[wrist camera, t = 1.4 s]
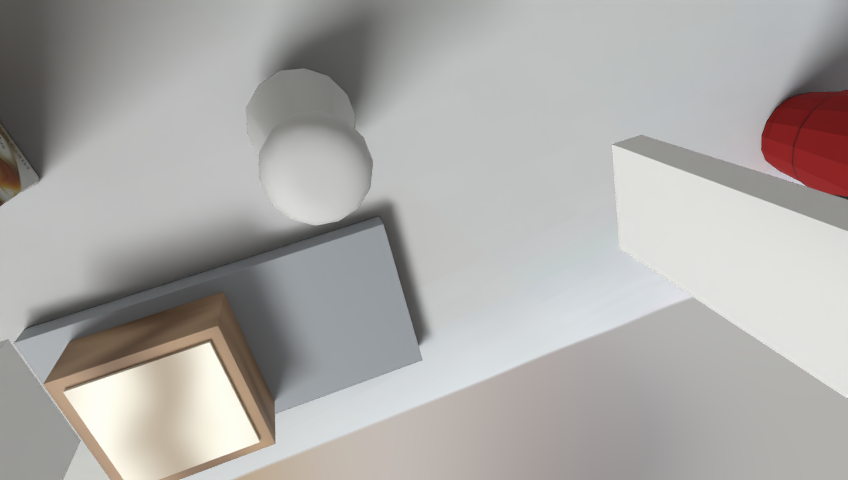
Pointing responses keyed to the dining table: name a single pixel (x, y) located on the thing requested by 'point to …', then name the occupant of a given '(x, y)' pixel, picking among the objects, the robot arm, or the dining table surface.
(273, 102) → the salt shaker
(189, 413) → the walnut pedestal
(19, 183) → the coffee box
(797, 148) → the plastic cup
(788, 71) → the dining table surface
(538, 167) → the dining table surface
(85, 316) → the build plate
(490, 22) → the dining table surface
